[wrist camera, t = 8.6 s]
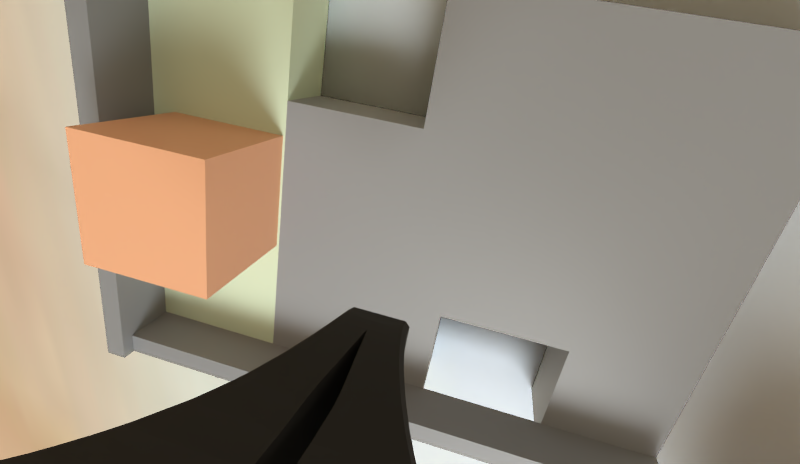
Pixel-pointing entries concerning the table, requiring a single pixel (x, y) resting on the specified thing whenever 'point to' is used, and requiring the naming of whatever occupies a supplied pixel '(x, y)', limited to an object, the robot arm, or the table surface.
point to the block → (175, 198)
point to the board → (480, 199)
